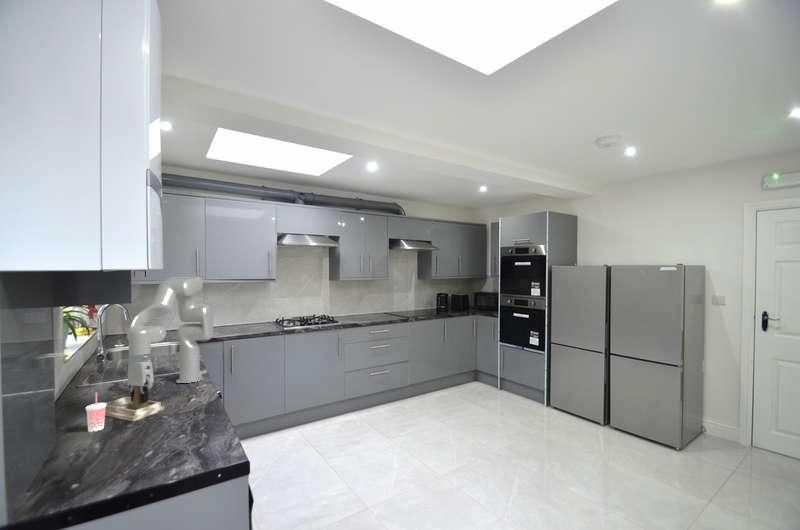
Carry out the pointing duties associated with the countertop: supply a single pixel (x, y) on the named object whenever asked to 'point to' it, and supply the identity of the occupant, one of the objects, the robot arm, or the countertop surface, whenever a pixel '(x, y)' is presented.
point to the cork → (138, 399)
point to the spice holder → (123, 409)
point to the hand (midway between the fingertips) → (139, 400)
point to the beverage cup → (96, 416)
